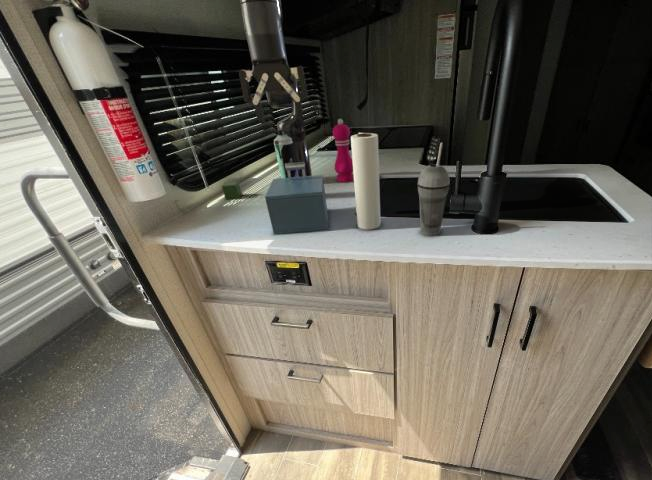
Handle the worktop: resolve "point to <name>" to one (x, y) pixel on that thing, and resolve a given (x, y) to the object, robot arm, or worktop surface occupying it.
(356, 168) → the paper towel roll
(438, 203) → the beverage cup
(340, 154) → the pepper mill
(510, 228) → the worktop surface
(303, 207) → the freezer
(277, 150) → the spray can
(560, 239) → the worktop surface
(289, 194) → the freezer lid
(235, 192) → the green cube
